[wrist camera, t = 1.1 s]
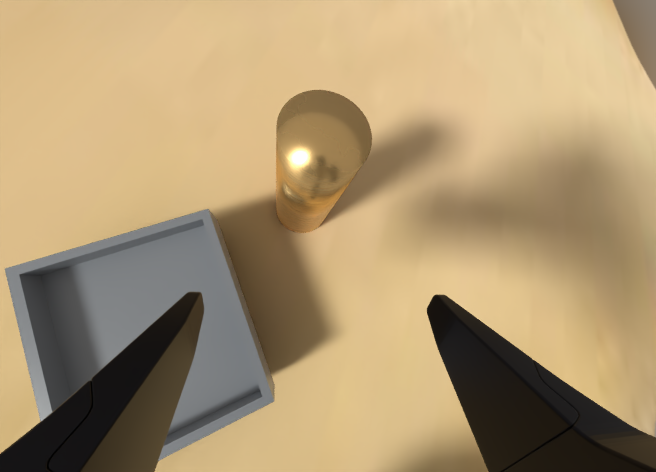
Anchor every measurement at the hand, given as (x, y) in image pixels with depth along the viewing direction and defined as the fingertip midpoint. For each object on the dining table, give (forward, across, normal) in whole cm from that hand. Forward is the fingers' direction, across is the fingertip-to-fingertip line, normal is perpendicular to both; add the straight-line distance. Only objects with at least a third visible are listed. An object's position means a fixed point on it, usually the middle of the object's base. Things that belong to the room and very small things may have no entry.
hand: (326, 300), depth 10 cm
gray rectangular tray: (+8, +10, +12) cm, 17 cm away
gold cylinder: (+15, 0, +4) cm, 16 cm away
